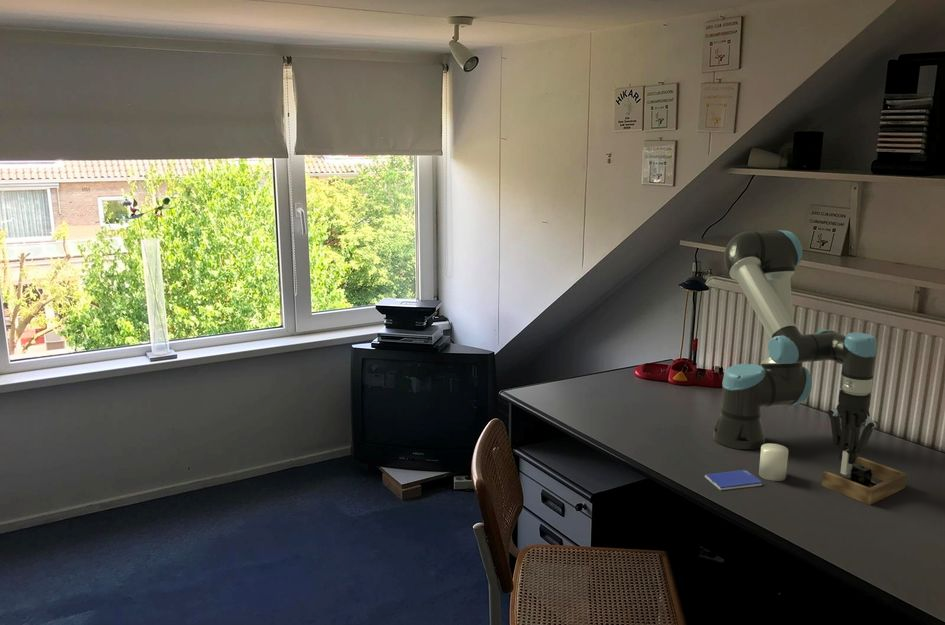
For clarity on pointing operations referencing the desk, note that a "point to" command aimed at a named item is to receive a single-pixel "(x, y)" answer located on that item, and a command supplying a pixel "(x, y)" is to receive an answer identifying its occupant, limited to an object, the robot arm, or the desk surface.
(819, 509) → the desk surface
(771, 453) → the cream cylinder
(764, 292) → the robot arm
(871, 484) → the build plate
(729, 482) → the hard drive
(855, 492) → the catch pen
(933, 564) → the desk surface
